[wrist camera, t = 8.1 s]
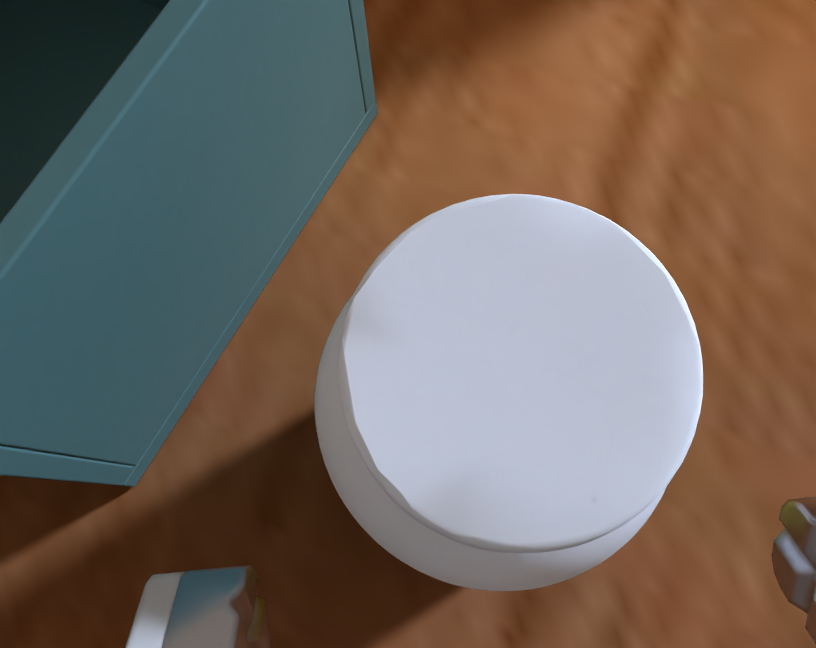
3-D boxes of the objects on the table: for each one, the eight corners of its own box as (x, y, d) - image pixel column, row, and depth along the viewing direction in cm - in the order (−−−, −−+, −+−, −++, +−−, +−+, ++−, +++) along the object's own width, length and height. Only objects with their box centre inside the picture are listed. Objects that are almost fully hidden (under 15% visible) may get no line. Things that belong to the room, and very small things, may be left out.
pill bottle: (571, 579, 19) (764, 673, 8) (340, 542, 19) (226, 582, 8) (592, 351, 20) (777, 170, 9) (377, 320, 21) (322, 114, 10)
